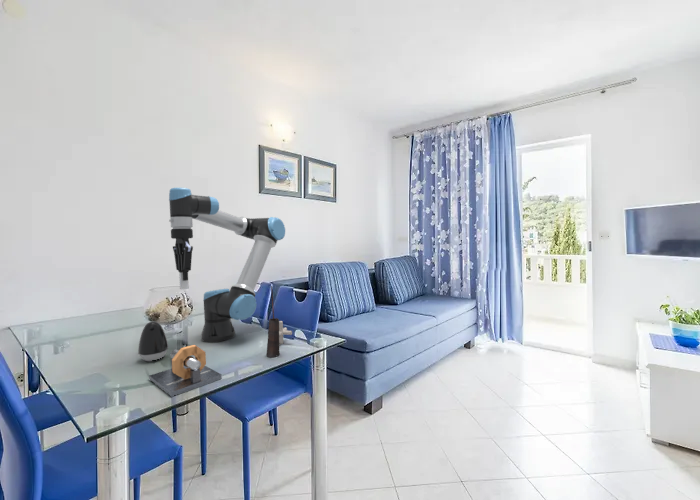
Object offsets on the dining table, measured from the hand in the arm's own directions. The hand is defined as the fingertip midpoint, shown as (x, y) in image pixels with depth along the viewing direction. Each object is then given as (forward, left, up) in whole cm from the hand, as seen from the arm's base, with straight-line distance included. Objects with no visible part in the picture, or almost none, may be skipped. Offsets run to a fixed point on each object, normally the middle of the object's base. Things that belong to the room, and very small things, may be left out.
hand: (184, 288), depth 126 cm
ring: (+21, -8, -26) cm, 35 cm away
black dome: (-12, -8, -29) cm, 32 cm away
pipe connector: (+14, +35, -29) cm, 47 cm away
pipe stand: (+18, -8, -28) cm, 34 cm away
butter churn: (+24, +24, -29) cm, 44 cm away
